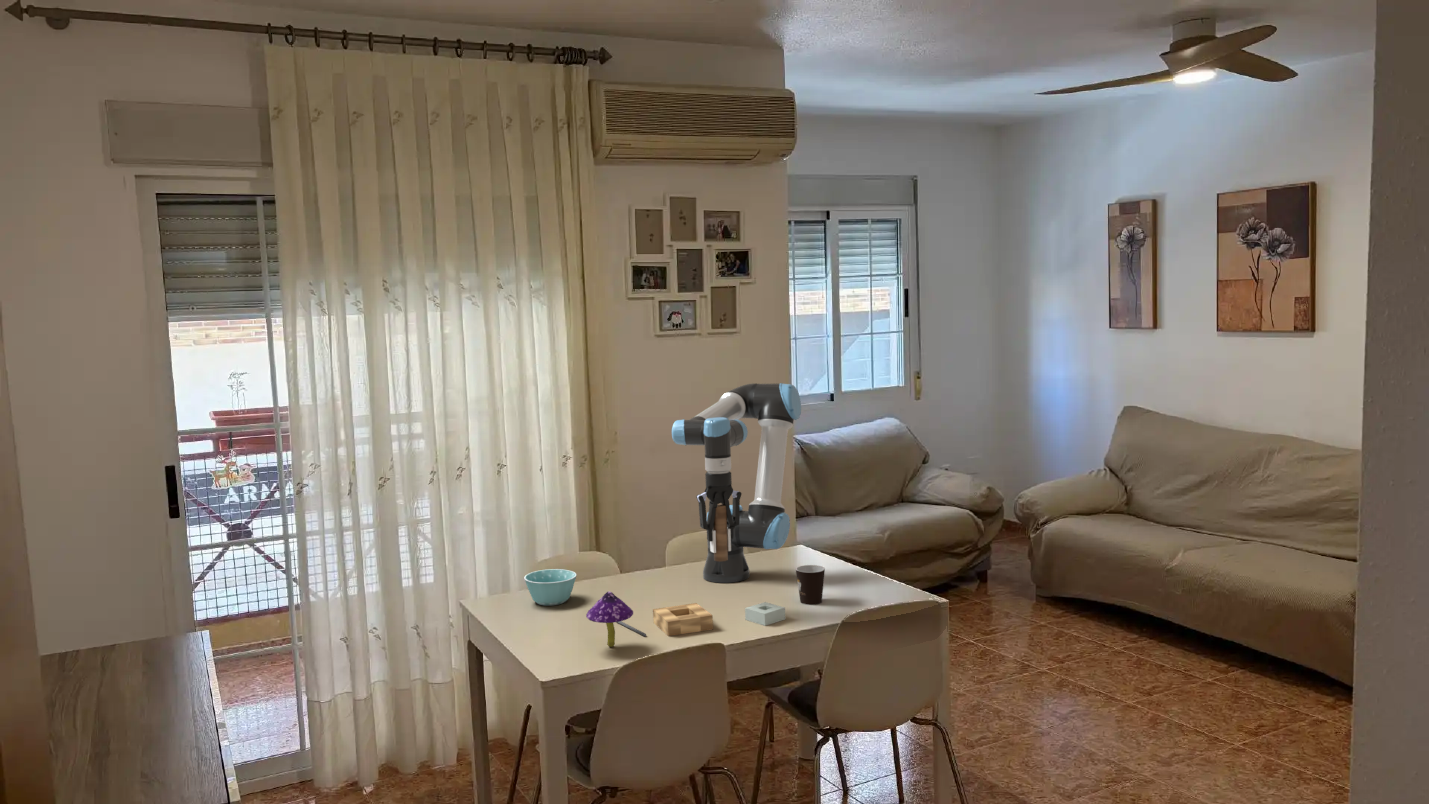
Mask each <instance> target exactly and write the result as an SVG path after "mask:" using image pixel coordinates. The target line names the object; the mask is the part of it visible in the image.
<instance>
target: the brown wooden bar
mask: <svg viewBox="0 0 1429 804" xmlns="http://www.w3.org/2000/svg"><path fill="white" fill-rule="evenodd" d="M713 530H715V531H716V553H714V560H715V561H727V560H728V546H727V513H726V506H725V505H722V504H721V503H719V504H717V508H716V513H715V519H714V525H713Z"/></svg>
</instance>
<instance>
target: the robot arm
mask: <svg viewBox="0 0 1429 804" xmlns="http://www.w3.org/2000/svg"><path fill="white" fill-rule="evenodd" d="M799 393H800V392H799V391H798V389H797V387H796V386H795V385H793V384H792V383H791V384H790V383H783V382H780V383H753V382H752V383H747V384H744V385H740V386H737V387H736V388H732V389H730V390H728V391H727V392H725V393H723V395H722V394H721V397H720V398H719V399H718V401H717V402H715V403H713V404H711V406H709V407H707V408H706V409H704V410H703V411H701V412H699V413H698V414H696V415H695V416H693V417H691V418H690V419H684V418H683V419H677V420H675V421H674V423H673V424H672V426H671V427H672V428H671V437H672V441H673V443H675V444H676V445H681V446H682V445H683V446H704V469H705V471H706V472H705V474H704V475H705V477H704V478H705V490H704V492H702V493H701V494H696V496H695V497H696V500H697V501H698V502H697V503H698V515H699V526H700V528H701V529H703V530H706V539H707V542H706V543H707V556H706V559H705V563H704V566H703V570H702V577H703V580H705V581H707V582H712V583H720V584H725V583H726V584H729V583H737V582H742V581H745V580H747V579H749V578H750V576H751V575H750V567H749V565H748V562H747V559H746V556H745V554H744V548H751V549H764V550H778V549H780V548H782V547H783V546H784V545H785V543H786V541H787V539H788V537H789V533H790V527H791V523H790V521H791V519H790V515H789V514H788V513H786V512H785V509H786V508H785V506H784V504H782V494H783V483H784V473H785V472H784V471H785V465H786V464H785V462H786V452H787V443H788V432H789V430H790V429H792V428H793V426H794V421H797V420H798V419H800V416H801V413H802V403H801V401H802V400H801V397H800V394H799ZM740 419H755V420H756V419H757V424H758V425H759V426H760V427H761V432H760V440H759V450H758V451H759V452H758V460H757V471H756V478H755V479H756V480H755V488H754V498H753V499H754V500H753V501H751V502H750V503H749V504H748V510H744V508H743V506H742V505H741V503H740V501H741V498H742V497H741V496H742V494H743V493H742V492H741V491H739V490H734V488H733V486H732V485H733V484H732V472H731V470H732V455H731V454H732V453H731V452H732V450H731V449H732V447H737V446H739V445H740V444H742V443H744V442H745V440H746V439H747V438H748V433H749V432H748V431H749V430H748V427H747V425H746V424H745V423H744V422H743V420H740ZM731 497H732V504H730V501H729V500H730V498H731ZM707 499H708V500H709V501H708V502H709V503H708V511H707V506H706V501H707ZM717 504H722V505H725V506H726V513H727V546H728V560H727V561H715V560H714V553H716V531H715V530H713V525H714V519H715V513H716V508H717Z"/></svg>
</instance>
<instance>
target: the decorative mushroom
mask: <svg viewBox="0 0 1429 804" xmlns="http://www.w3.org/2000/svg"><path fill="white" fill-rule="evenodd" d="M585 615H586V618H587V619H588V620H589V621H591V622H593V623H599V624H600V623H601V624H605V625H606V629H607V646H608V647H610V648H612V647H614V646H615V645H616V644H615V641H616V629H615V624H614V623H617V622H620V621H622V622H623V621H626V620H629V619H630V618H632V616H633V615H634V611H633V609H632V608H631V607H630V606H628V605H627V604H626V602H624V601H623V600H622V599H621V598H619V597H618V596H616V595H615V593H613V592H612V591H606V592H605V594H603V595H602V597H600V598H599V599H598V600H597V601H596V602H595V603H594V604H593V606H591V608H590V609H589V610H588V611H587V613H586V614H585Z"/></svg>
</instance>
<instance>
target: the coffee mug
mask: <svg viewBox="0 0 1429 804" xmlns="http://www.w3.org/2000/svg"><path fill="white" fill-rule="evenodd" d="M825 570H826V568H825V567H823V565H822V566H821V565H817V564H805V565H798V566H796V567H795V574H796V581H797V588H798V594H799V602H800V603H801V604H802V605H811V606H814V605H819V604H822V602H823V593H824V592H823V591H824V580H825Z"/></svg>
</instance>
